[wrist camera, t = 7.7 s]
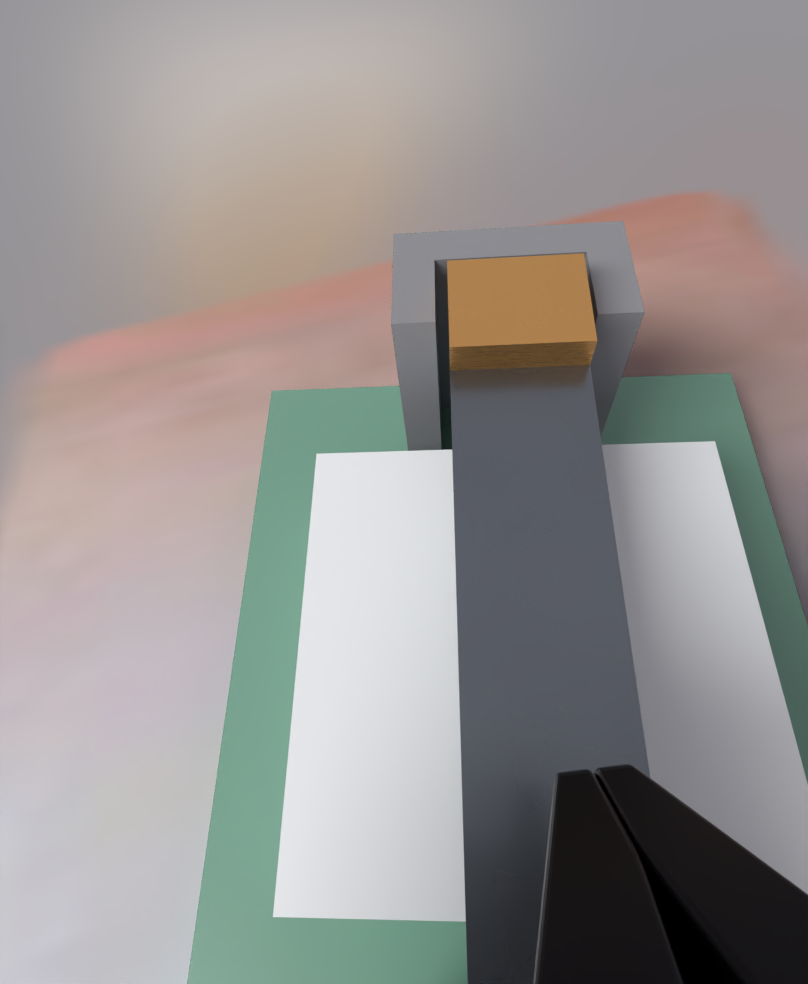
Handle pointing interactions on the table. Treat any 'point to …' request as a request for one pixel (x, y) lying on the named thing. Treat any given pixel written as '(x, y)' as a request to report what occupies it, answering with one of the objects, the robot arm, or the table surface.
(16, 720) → the table surface
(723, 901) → the robot arm
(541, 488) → the strap
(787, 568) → the board
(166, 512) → the table surface
